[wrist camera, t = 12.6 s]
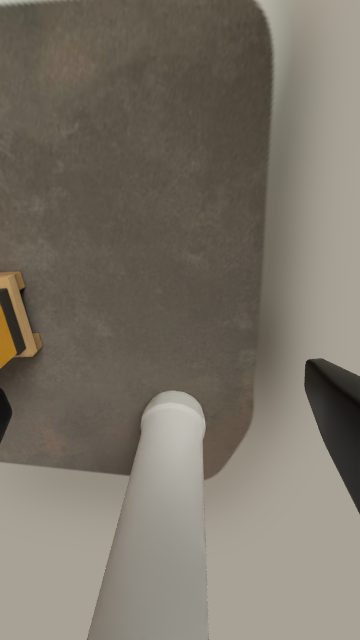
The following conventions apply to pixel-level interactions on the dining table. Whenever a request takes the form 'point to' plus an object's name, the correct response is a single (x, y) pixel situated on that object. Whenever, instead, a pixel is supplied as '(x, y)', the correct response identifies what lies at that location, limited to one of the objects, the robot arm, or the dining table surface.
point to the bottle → (160, 533)
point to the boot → (9, 330)
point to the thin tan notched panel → (20, 311)
